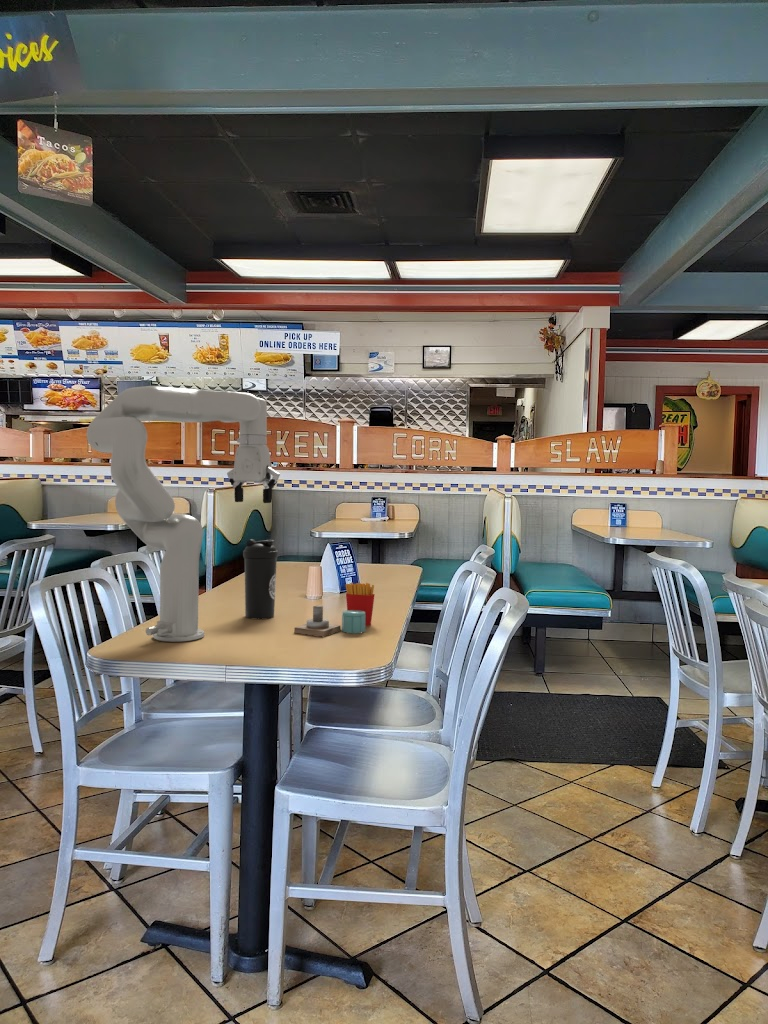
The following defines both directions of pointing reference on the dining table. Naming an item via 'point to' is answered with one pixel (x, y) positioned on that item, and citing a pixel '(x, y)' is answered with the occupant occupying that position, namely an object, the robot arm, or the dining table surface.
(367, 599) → the french fries
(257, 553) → the water bottle
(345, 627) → the cap
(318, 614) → the post stand
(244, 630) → the dining table surface
